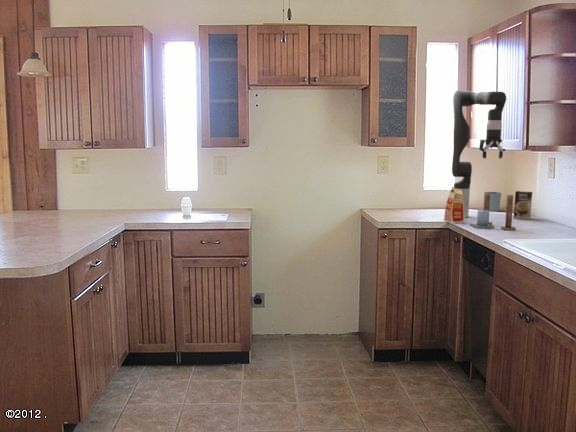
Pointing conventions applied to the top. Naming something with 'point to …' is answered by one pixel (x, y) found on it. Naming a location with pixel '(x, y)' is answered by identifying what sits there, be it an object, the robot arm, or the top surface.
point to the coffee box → (522, 205)
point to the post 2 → (509, 214)
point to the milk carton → (455, 207)
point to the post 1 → (487, 204)
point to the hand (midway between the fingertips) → (492, 158)
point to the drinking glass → (495, 201)
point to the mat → (481, 226)
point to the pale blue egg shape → (482, 217)
